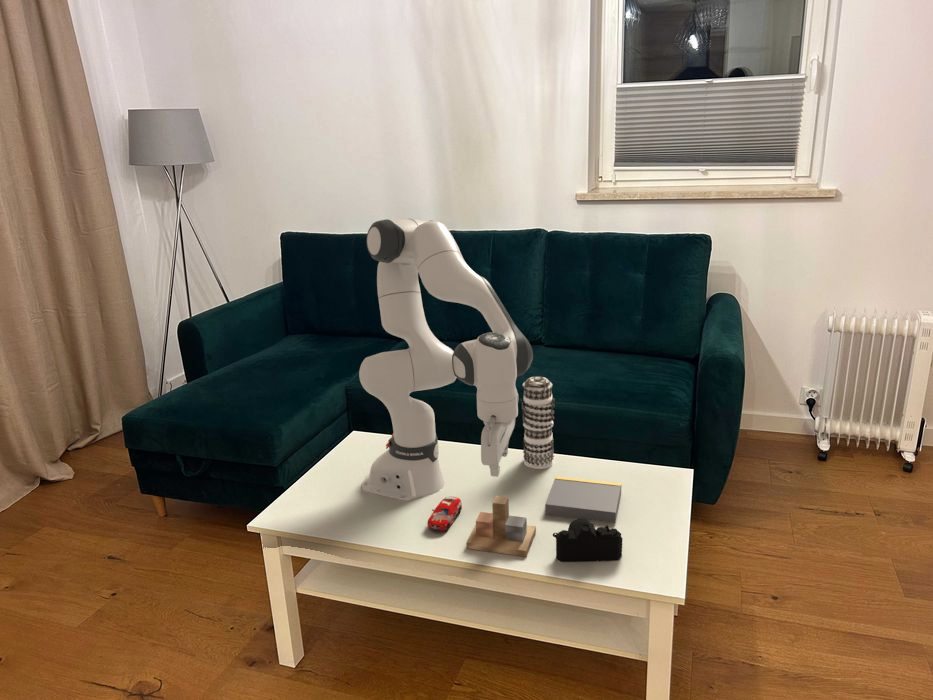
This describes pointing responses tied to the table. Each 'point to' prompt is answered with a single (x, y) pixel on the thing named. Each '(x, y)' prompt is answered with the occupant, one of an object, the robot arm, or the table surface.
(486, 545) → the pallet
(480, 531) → the terracotta crate
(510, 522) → the gray cube
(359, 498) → the table surface
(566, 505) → the plate
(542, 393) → the decorative candle
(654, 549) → the table surface
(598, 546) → the film camera
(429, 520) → the race car
